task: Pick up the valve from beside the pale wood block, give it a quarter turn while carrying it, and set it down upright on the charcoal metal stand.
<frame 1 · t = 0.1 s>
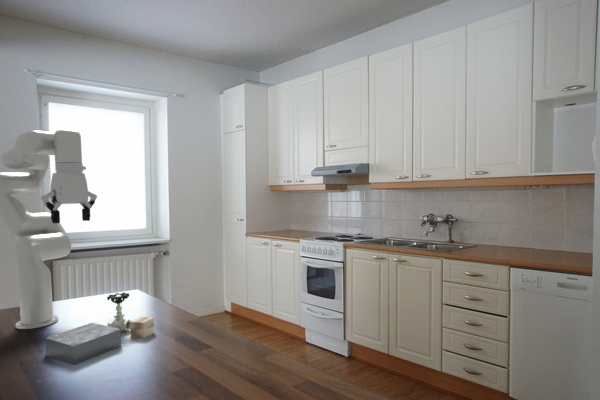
hand: (71, 221, 127), 37 cm above the table, tool pointing down, fingers open, 9 cm apart
valve: (119, 331, 129), on the table
stand: (84, 350, 113), on the table
pale wood block: (142, 335, 125), on the table
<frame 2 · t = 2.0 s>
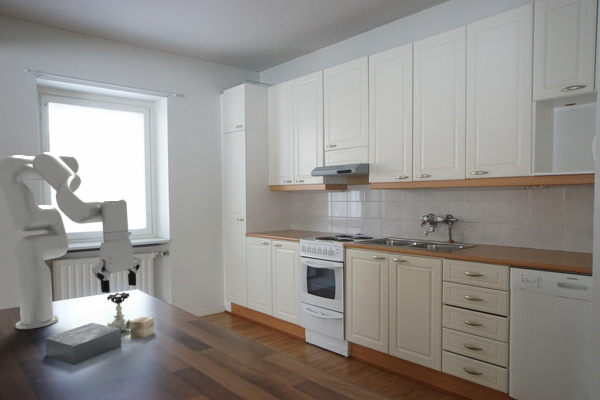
hand: (119, 288, 128), 14 cm above the table, tool pointing down, fingers open, 9 cm apart
nothing on the table moved.
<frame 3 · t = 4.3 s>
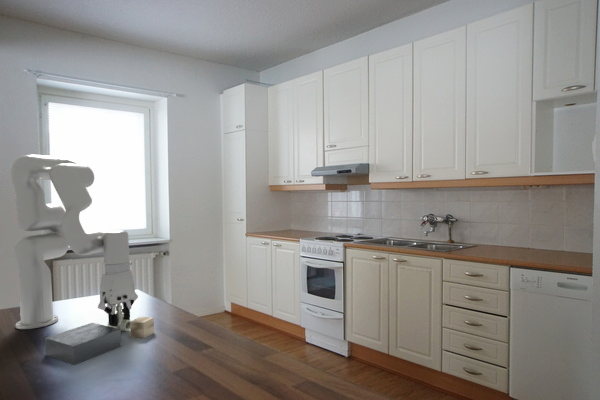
hand: (119, 322, 129), 3 cm above the table, tool pointing down, fingers closed on valve, 4 cm apart
valve: (119, 331, 129), on the table, touching gripper
everything else where it was.
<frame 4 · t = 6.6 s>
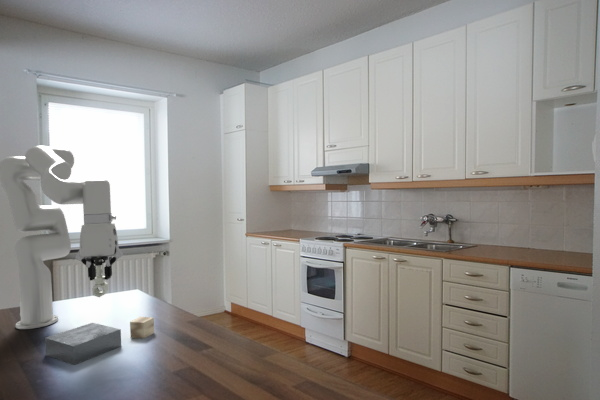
hand: (100, 278, 121), 19 cm above the table, tool pointing down, fingers closed on valve, 3 cm apart
valve: (101, 296, 120), point 14 cm above the table, touching gripper
everything else where it was.
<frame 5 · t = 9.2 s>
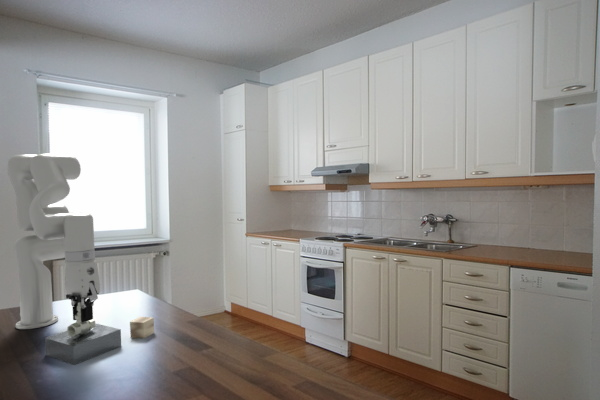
hand: (83, 319, 113), 9 cm above the table, tool pointing down, fingers closed on valve, 3 cm apart
valve: (82, 335, 113), point 5 cm above the table, touching gripper, stand
everything else where it was.
when the fingers open (9 cm above the table, at t = 9.2 s): valve stays where it is, resting on stand.
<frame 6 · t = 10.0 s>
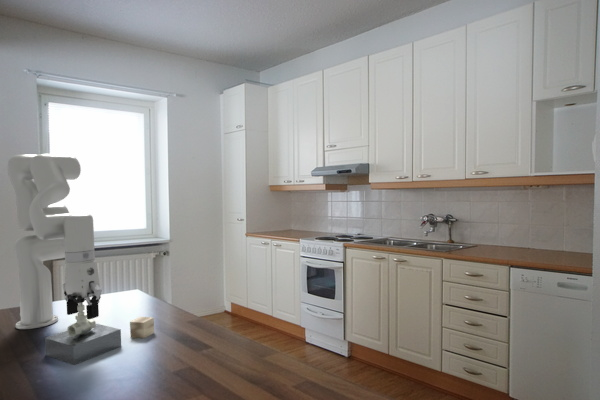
hand: (82, 315, 113), 10 cm above the table, tool pointing down, fingers open, 9 cm apart
valve: (82, 335, 113), point 5 cm above the table, touching stand
everything else where it was.
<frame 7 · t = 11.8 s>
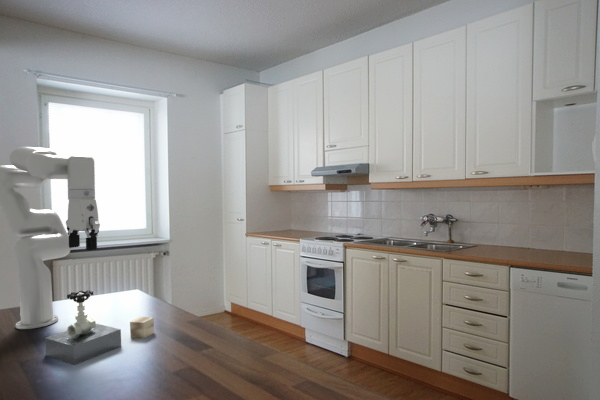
hand: (82, 248, 125), 28 cm above the table, tool pointing down, fingers open, 9 cm apart
nothing on the table moved.
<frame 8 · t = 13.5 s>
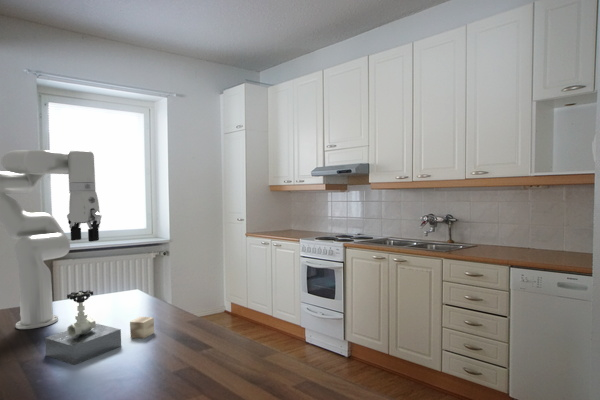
hand: (84, 240, 128), 30 cm above the table, tool pointing down, fingers open, 9 cm apart
nothing on the table moved.
at the end: valve inside the target area on the stand (0.7 cm from its centre), point 4.8 cm above the stand's base; valve tilted 0°; the gripper is holding nothing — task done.
